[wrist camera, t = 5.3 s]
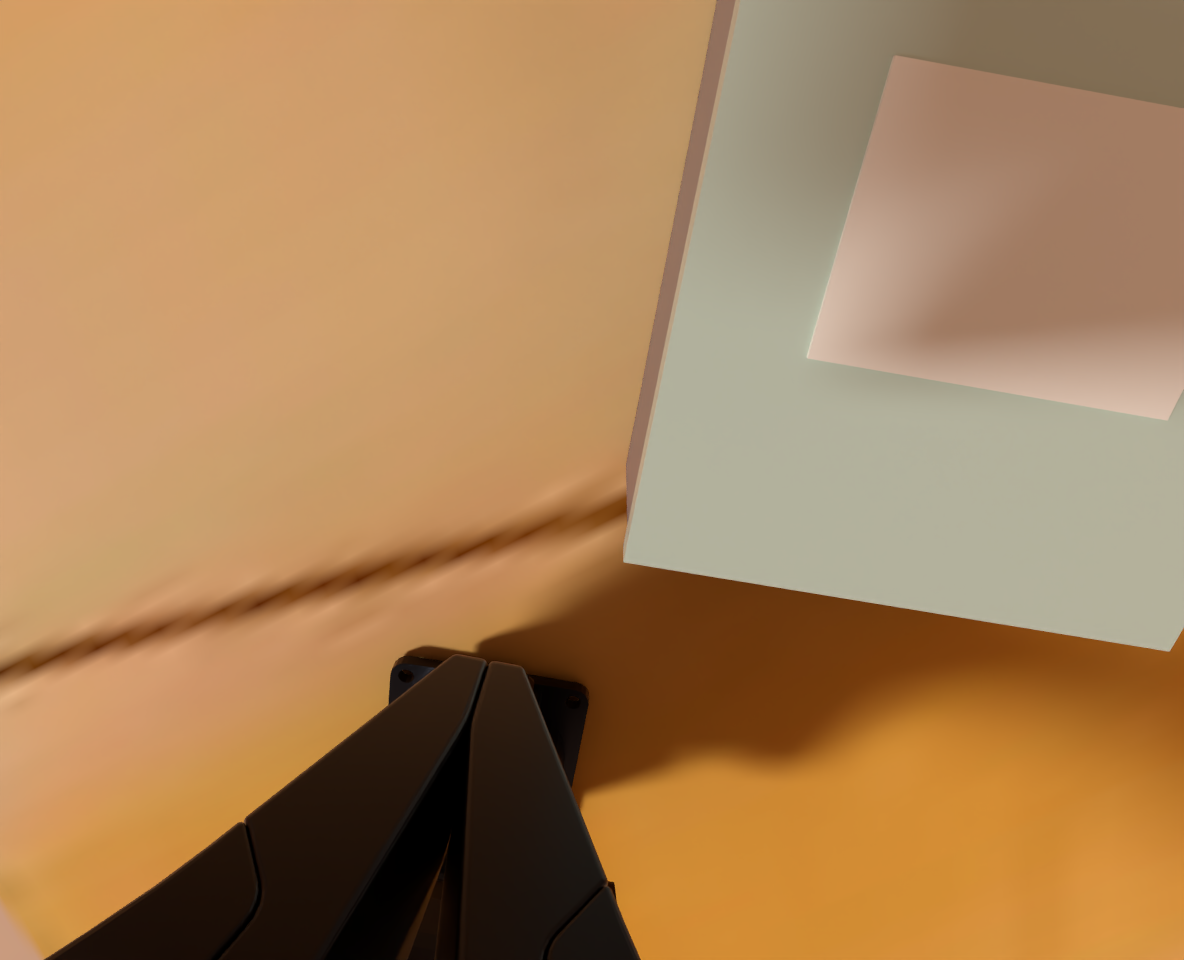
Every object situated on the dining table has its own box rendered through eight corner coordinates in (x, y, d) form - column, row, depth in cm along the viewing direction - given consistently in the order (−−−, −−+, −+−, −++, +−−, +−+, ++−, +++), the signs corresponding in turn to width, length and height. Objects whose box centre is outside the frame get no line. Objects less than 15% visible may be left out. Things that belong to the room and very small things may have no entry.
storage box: (1025, 531, 21) (1138, 626, 17) (626, 464, 21) (627, 543, 16) (1225, 75, 17) (1456, 33, 12) (721, -19, 16) (760, -100, 12)
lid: (1145, 630, 17) (1172, 654, 16) (623, 544, 16) (623, 564, 15) (1495, 15, 12) (1560, 3, 11) (761, -125, 11) (771, -148, 11)
